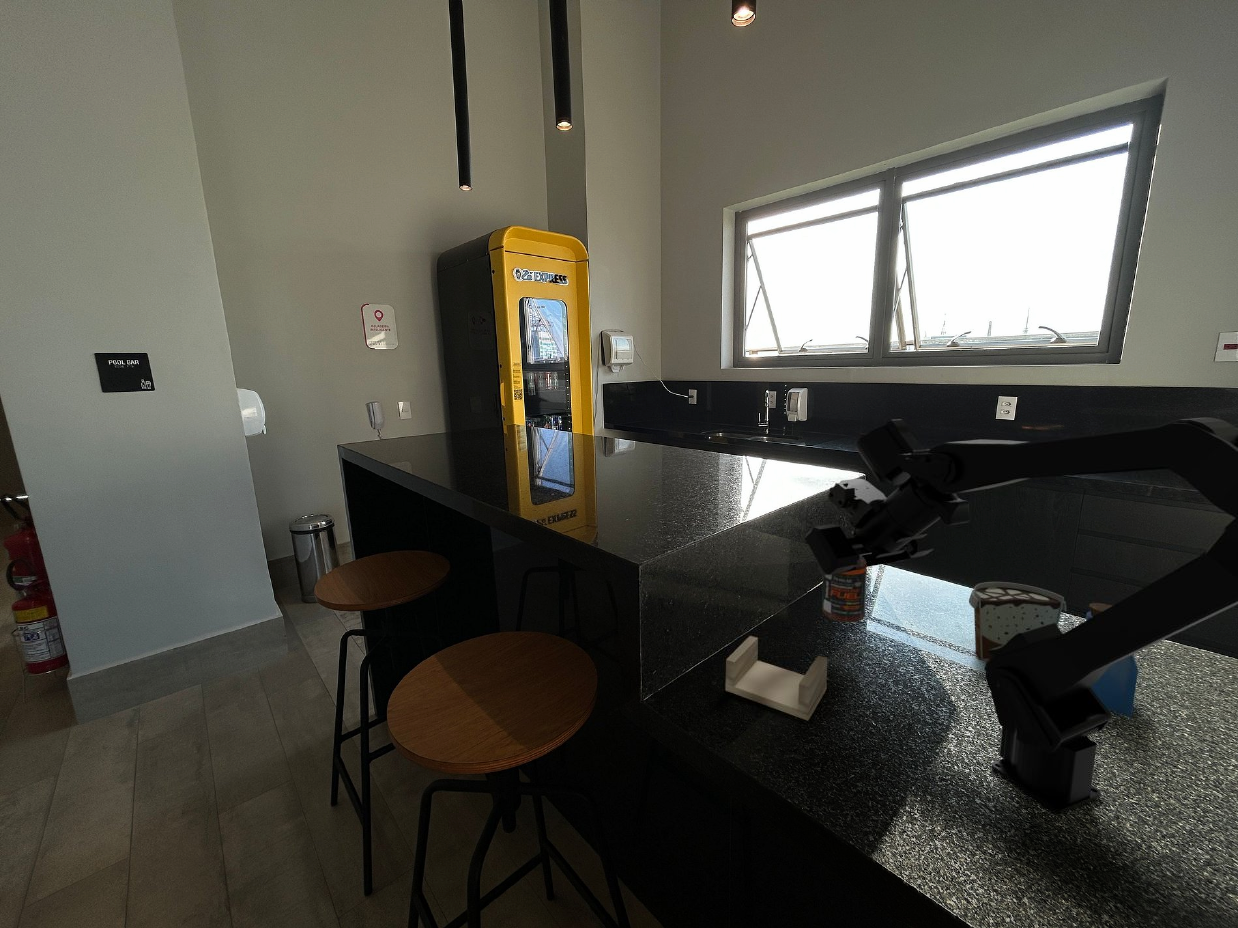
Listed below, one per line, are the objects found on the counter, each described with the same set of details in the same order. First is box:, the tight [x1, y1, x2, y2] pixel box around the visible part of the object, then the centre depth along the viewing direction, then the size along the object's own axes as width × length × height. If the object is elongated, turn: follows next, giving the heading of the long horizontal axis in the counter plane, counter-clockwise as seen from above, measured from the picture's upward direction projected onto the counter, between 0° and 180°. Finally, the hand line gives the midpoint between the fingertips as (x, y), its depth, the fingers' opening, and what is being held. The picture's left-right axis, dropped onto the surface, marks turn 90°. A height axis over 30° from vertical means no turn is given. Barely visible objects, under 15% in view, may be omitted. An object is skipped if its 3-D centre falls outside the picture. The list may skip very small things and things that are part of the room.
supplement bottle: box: [821, 556, 868, 623], centre depth 75 cm, size 6×6×11 cm
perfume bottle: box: [1078, 602, 1139, 717], centre depth 66 cm, size 6×6×12 cm
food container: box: [968, 581, 1067, 662], centre depth 77 cm, size 12×6×10 cm, turn 84°
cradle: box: [725, 635, 828, 721], centre depth 69 cm, size 11×8×4 cm
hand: (836, 569), depth 77 cm, fingers closed on supplement bottle, 6 cm apart
